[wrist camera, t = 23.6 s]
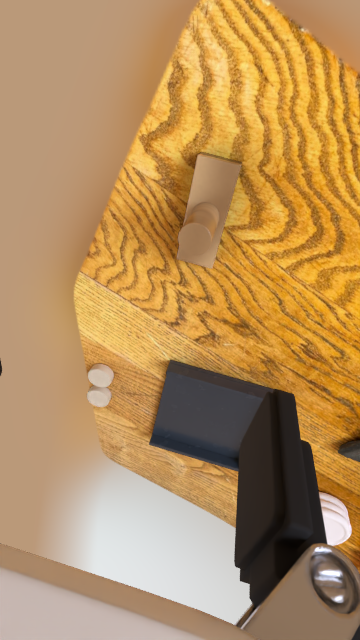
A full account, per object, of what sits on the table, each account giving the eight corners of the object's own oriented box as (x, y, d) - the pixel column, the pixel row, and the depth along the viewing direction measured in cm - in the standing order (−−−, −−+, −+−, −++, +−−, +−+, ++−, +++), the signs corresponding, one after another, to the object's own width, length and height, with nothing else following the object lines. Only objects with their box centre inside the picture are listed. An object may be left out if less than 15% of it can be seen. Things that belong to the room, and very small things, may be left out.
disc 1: (91, 377, 44) (87, 383, 43) (91, 360, 42) (87, 366, 41) (113, 384, 44) (109, 390, 43) (114, 367, 42) (111, 373, 41)
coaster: (325, 482, 46) (330, 507, 44) (358, 517, 49) (365, 543, 47) (265, 497, 51) (266, 520, 48) (299, 528, 54) (302, 551, 51)
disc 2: (90, 397, 46) (86, 403, 45) (90, 382, 45) (86, 388, 44) (111, 403, 46) (108, 409, 45) (112, 387, 44) (108, 394, 43)
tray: (152, 432, 48) (148, 444, 46) (170, 359, 40) (166, 370, 38) (243, 460, 47) (243, 473, 46) (281, 391, 39) (282, 404, 37)
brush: (180, 251, 32) (160, 288, 25) (201, 151, 27) (183, 164, 20) (214, 260, 32) (203, 300, 25) (242, 161, 26) (237, 178, 20)
